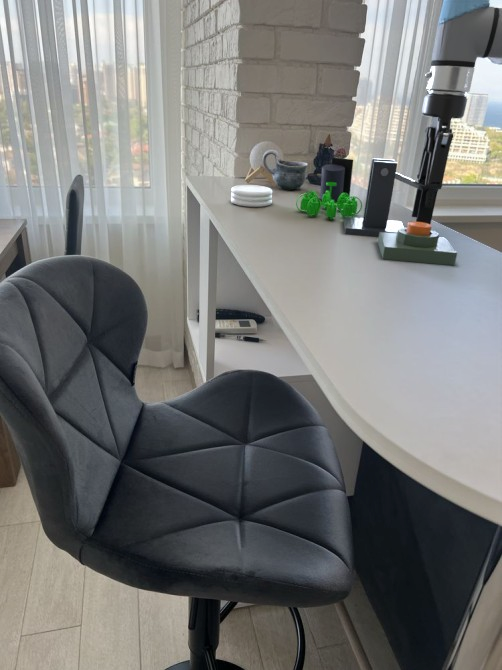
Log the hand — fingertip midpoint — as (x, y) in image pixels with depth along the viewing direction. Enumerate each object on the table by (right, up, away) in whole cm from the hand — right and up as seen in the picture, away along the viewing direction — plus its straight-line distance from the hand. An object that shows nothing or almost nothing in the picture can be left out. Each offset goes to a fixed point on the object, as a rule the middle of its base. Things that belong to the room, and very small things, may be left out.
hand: (420, 220), depth 103 cm
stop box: (-5, -9, -12) cm, 16 cm away
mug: (-25, +18, +40) cm, 51 cm away
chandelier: (-17, +4, +14) cm, 22 cm away
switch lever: (-5, +6, -2) cm, 8 cm away
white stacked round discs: (-35, +9, +20) cm, 41 cm away
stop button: (-5, -5, -13) cm, 15 cm away
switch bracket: (-9, -2, +2) cm, 9 cm away
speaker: (-13, +11, +28) cm, 33 cm away
